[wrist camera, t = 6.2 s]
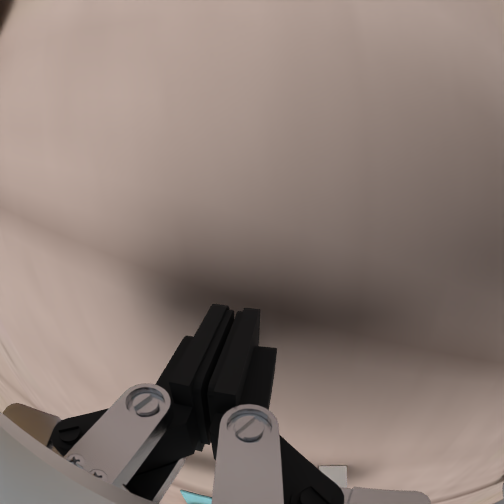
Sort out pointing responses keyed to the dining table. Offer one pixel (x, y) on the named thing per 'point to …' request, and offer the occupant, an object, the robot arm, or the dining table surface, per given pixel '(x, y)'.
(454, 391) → the dining table surface
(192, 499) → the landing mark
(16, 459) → the robot arm
